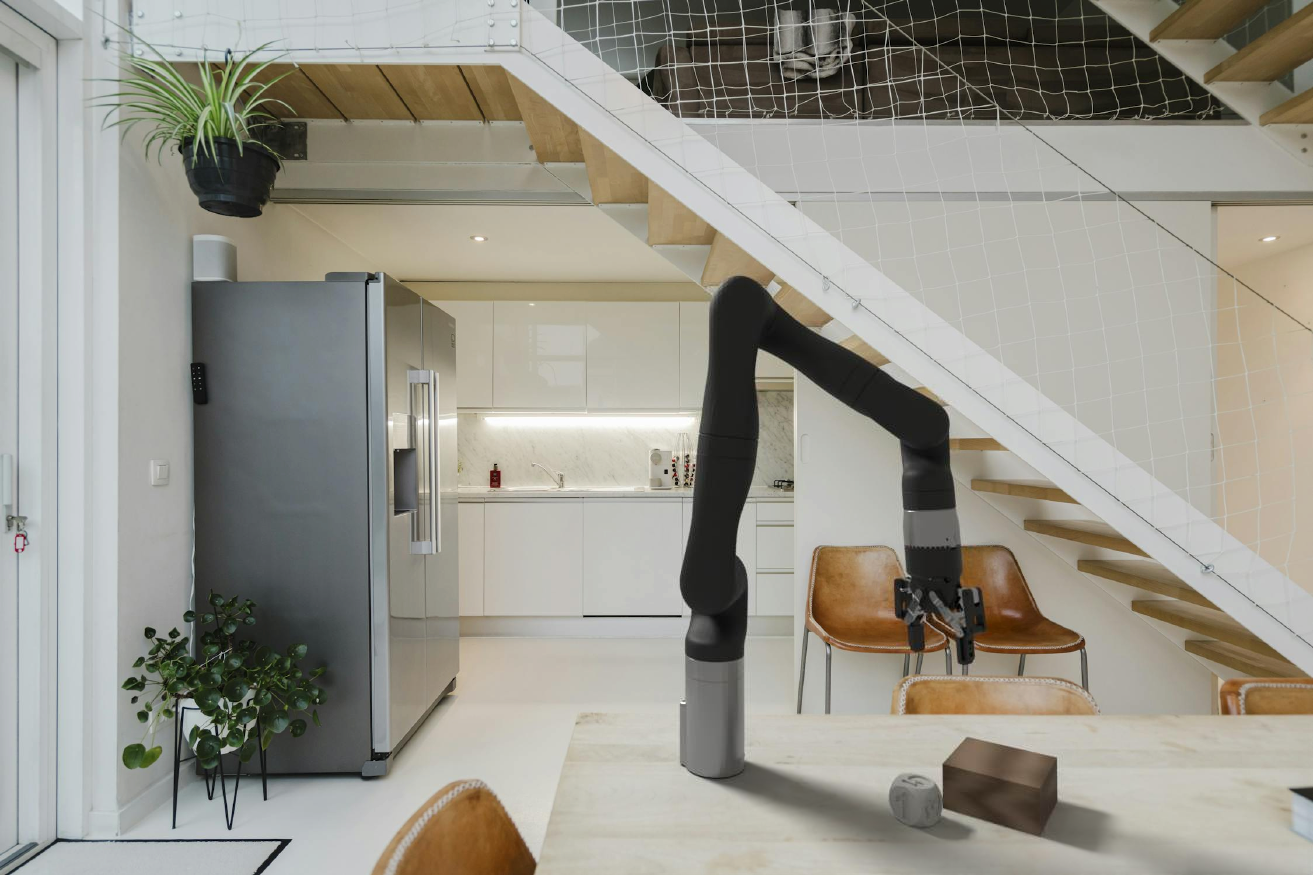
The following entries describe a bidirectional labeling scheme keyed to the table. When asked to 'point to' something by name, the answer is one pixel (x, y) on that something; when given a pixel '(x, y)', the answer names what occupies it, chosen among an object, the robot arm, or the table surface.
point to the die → (915, 800)
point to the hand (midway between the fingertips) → (941, 657)
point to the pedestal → (1001, 784)
